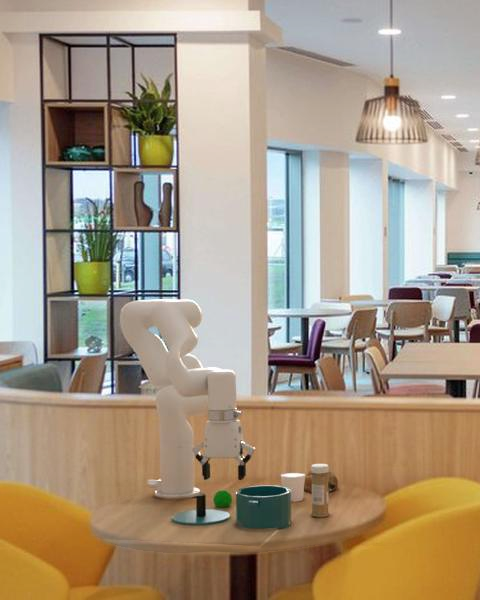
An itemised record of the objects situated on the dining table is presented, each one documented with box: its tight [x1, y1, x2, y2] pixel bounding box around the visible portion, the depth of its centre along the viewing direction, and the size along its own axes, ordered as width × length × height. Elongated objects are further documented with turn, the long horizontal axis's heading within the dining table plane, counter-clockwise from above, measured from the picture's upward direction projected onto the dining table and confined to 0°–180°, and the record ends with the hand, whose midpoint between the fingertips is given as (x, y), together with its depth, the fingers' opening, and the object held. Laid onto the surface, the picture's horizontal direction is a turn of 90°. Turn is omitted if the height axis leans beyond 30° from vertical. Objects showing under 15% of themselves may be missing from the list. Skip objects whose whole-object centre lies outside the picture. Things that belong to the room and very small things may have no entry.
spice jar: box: [310, 463, 330, 518], centre depth 279 cm, size 5×5×14 cm
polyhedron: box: [213, 489, 233, 508], centre depth 288 cm, size 5×5×5 cm
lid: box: [171, 493, 231, 526], centre depth 274 cm, size 15×15×7 cm
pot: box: [235, 484, 292, 530], centre depth 270 cm, size 14×19×8 cm
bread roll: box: [304, 469, 339, 493], centre depth 311 cm, size 10×10×8 cm
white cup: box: [280, 472, 306, 503], centre depth 298 cm, size 7×7×7 cm
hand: (224, 479), depth 287 cm, fingers open, 9 cm apart
